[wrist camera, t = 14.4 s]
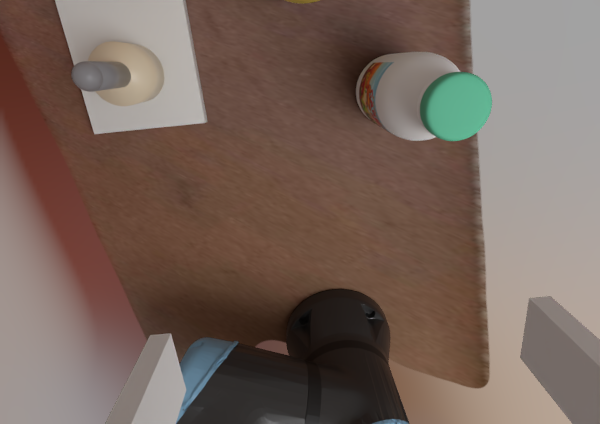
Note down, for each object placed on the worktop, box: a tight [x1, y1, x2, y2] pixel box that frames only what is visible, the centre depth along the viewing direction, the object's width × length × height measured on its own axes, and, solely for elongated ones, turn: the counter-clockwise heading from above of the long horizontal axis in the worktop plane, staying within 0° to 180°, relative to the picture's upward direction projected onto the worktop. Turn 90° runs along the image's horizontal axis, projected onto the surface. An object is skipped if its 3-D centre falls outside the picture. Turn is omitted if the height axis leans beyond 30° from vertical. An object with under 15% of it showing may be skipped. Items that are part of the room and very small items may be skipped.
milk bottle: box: [356, 52, 492, 141], centre depth 35 cm, size 8×8×20 cm
